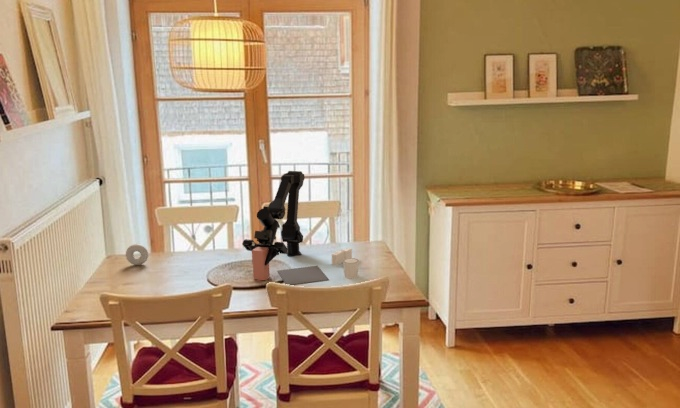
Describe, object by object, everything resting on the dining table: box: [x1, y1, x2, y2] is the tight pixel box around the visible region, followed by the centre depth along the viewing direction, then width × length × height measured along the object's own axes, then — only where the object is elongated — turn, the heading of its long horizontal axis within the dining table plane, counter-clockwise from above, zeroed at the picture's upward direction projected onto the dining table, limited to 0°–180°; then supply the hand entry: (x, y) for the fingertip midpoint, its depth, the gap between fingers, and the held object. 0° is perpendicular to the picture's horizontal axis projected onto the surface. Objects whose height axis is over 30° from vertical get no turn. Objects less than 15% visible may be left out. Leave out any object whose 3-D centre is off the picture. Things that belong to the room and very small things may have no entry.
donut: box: [125, 243, 149, 266], centre depth 265 cm, size 10×4×10 cm, turn 95°
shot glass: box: [342, 257, 360, 280], centre depth 245 cm, size 7×7×7 cm
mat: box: [277, 265, 330, 286], centre depth 248 cm, size 18×18×1 cm
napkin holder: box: [331, 247, 353, 267], centre depth 264 cm, size 15×11×6 cm
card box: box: [251, 247, 270, 281], centre depth 244 cm, size 5×5×13 cm
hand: (259, 264), depth 243 cm, fingers closed on card box, 5 cm apart
